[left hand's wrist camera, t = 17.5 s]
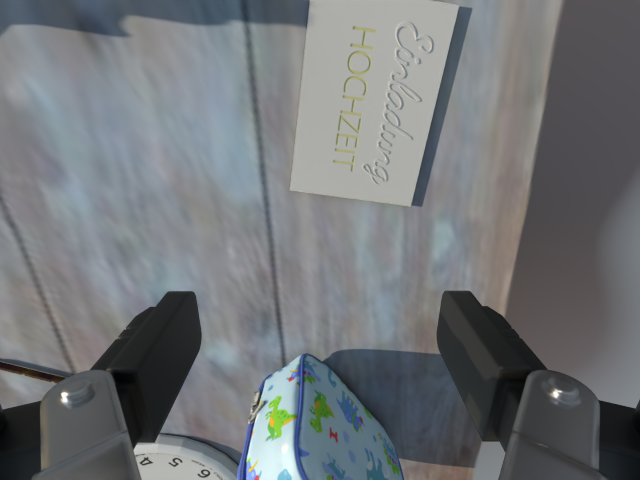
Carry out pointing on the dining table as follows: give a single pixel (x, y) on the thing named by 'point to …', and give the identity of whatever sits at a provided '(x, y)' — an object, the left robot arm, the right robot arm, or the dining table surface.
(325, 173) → the invitation card
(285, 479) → the lunch box
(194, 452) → the wall clock
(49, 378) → the brown stick
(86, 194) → the dining table surface
